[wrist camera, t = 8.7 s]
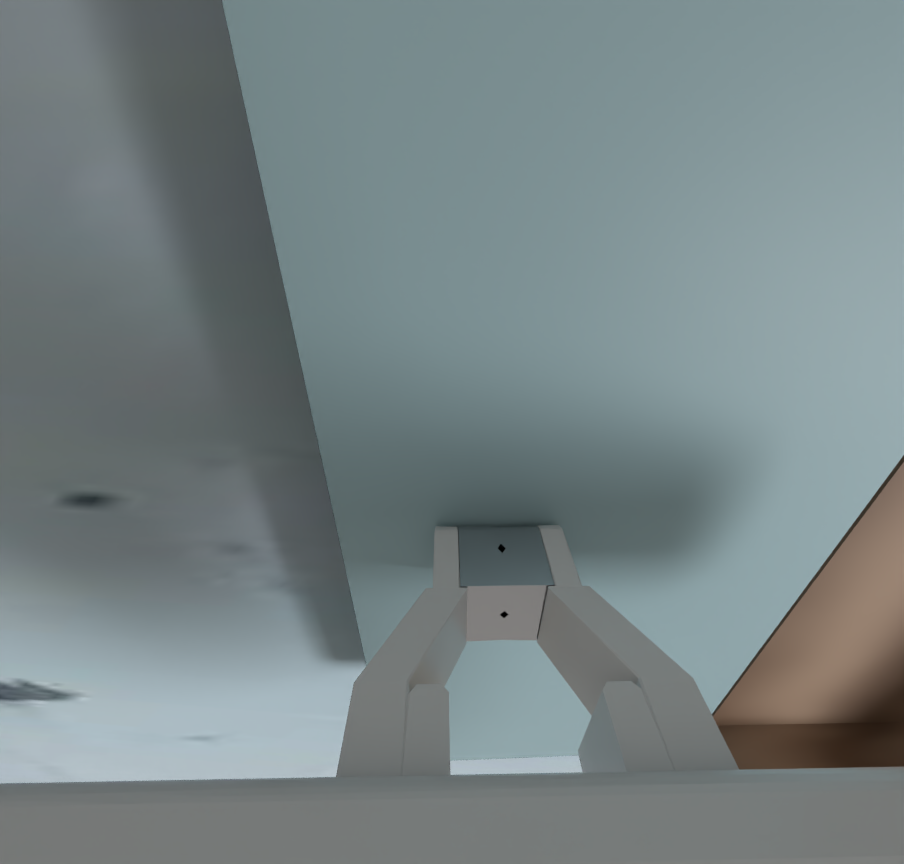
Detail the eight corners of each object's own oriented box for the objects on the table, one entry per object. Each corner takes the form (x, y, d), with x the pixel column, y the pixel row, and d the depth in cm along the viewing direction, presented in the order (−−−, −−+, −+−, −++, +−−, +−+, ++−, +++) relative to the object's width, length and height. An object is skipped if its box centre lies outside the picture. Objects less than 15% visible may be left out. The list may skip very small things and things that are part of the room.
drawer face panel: (1797, -751, 3) (34, -865, 2) (684, 751, 16) (387, 763, 16) (1277, -392, 4) (198, -437, 4) (660, 697, 18) (392, 706, 17)
